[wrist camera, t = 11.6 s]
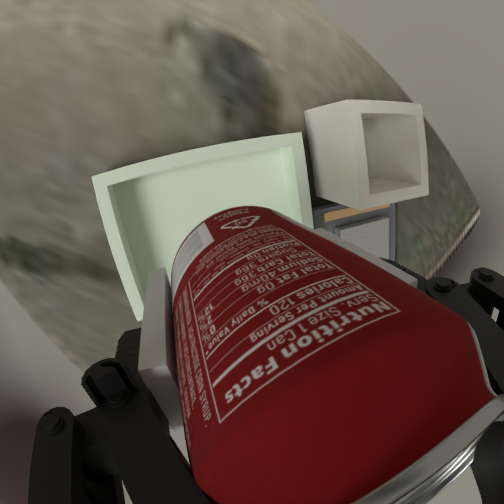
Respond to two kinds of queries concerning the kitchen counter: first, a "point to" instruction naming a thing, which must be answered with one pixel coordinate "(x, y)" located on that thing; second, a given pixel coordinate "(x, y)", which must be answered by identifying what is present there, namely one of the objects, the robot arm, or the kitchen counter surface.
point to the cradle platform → (368, 235)
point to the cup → (368, 152)
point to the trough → (194, 199)
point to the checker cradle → (353, 218)
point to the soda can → (317, 370)
